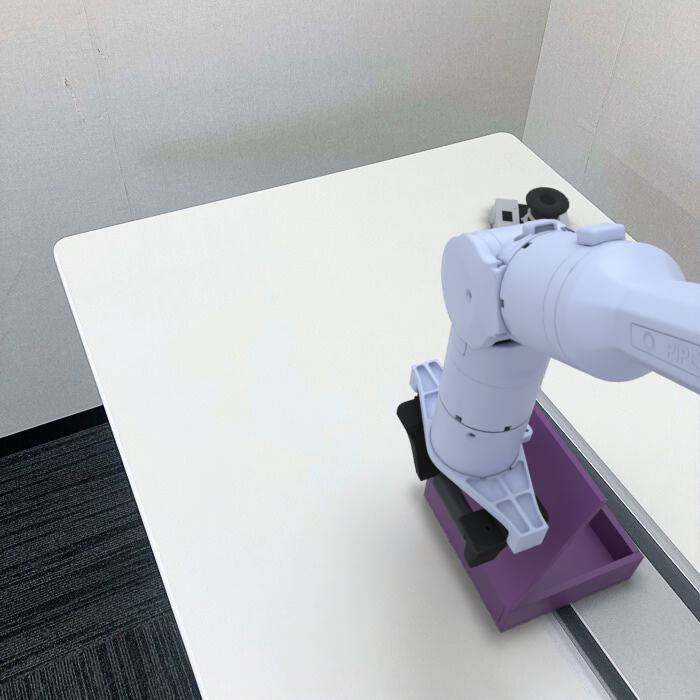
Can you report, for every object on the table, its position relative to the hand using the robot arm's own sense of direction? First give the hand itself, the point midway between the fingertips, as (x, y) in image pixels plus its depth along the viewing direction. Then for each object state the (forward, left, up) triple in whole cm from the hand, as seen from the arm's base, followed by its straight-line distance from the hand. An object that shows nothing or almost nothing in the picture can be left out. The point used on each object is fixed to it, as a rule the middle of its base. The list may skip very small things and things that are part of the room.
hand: (454, 515), depth 55 cm
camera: (+32, -28, -8) cm, 43 cm away
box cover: (0, -4, +2) cm, 5 cm away
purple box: (0, -8, -8) cm, 11 cm away
